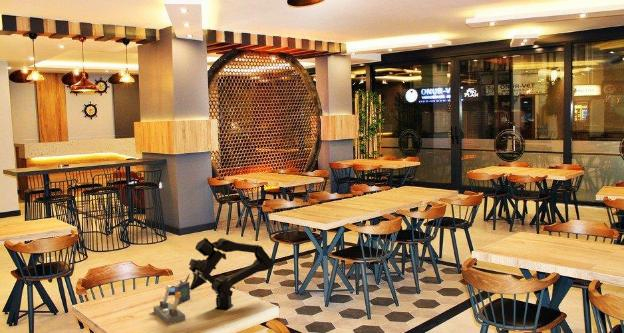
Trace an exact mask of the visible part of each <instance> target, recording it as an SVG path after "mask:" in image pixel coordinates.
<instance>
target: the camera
mask: <svg viewBox="0 0 624 333" xmlns="http://www.w3.org/2000/svg"><path fill="white" fill-rule="evenodd" d="M189 278H190V274H189V273H188V275H187V277H186V279H185V280H184V282H185V281H188V280H189ZM188 282H189V281H188ZM170 286H171V285H170ZM174 286H175V285H172V286H171V290H170V291H169V294H168V296H175V288H174Z"/></svg>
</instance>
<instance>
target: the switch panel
mask: <svg viewBox="0 0 624 333" xmlns="http://www.w3.org/2000/svg"><path fill="white" fill-rule="evenodd" d="M162 303H163V300H161V301H159V305H155V306H153V307H152V308H153V312H154V314H155V315H157V317H159V319H161V320H162V321H164V323H166V324H167V325H171V323H172V324H175V322H176V323H179V321H180V322H184V321H186V315H185V313H183V311H181V310H179V308H178V307H177V308H176V311H172V309H173V306H174V304H172V303H170V302H166V303H163V304H162ZM171 311H172V313H171ZM183 320H184V321H183Z"/></svg>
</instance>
